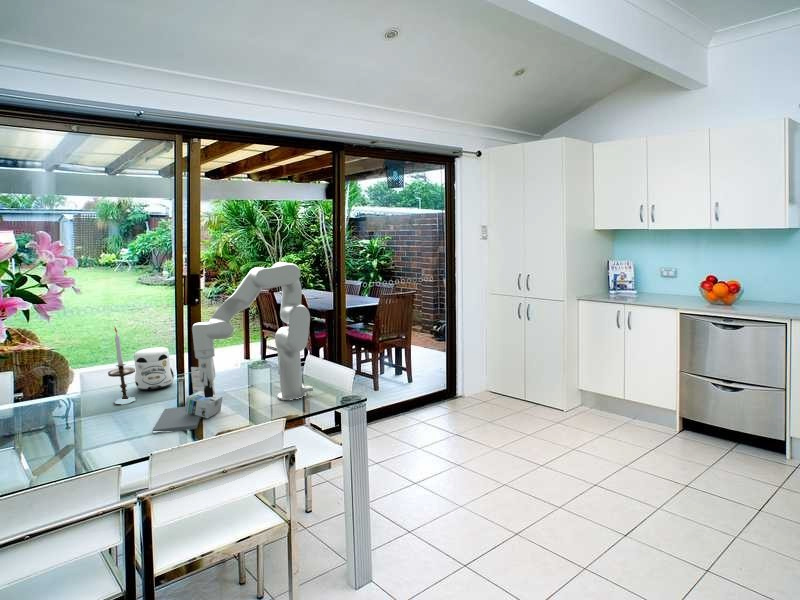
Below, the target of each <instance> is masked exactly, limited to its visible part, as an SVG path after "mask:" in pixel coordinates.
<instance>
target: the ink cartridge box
mask: <svg viewBox="0 0 800 600" xmlns="http://www.w3.org/2000/svg"><path fill="white" fill-rule="evenodd" d="M190 370H191V371H190V372H191V383H192V384H191V385H192V392H193V393H192V395H193V394H195V393H197V392H199V391H203V392H204V383H202V382H201V381H200V374H199V366H198V367H197V366H191V367H190ZM214 381H215V380H214ZM214 381H213V382H212V386H213V394H214V395H216V391H215V382H214Z"/></svg>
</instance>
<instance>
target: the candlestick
mask: <svg viewBox="0 0 800 600" xmlns="http://www.w3.org/2000/svg"><path fill="white" fill-rule="evenodd" d="M113 328H114V331H115V336H114V343H115V349H116V355H117V356H116V357H117V365H115V367H118V368H115V369H112V370H110V371H108V372H107V374H108V377H113V378H114V377H118V378H119V377H120V385H119V387H120V389H121V390H120V392H121V393H122V397H121V398H122V399H128V398H129V396H128V395H127V392H128V390H127V387H128V384H126V383H125V377H126V376H129V375H131V374H134V373H136V367H135V368H134V367H128V366H127V367H125V366H126V364H125V363H124V361H123V354H122V345H121V338H120V335H119V334H118V330H117V328H116V326H115V325H114V327H113Z"/></svg>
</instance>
